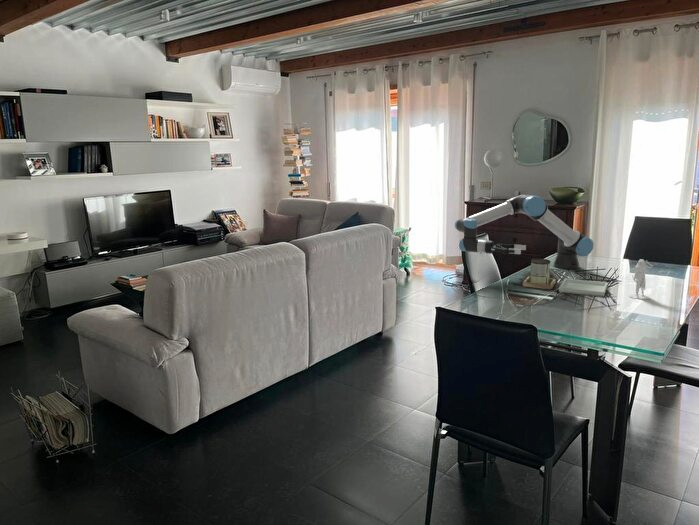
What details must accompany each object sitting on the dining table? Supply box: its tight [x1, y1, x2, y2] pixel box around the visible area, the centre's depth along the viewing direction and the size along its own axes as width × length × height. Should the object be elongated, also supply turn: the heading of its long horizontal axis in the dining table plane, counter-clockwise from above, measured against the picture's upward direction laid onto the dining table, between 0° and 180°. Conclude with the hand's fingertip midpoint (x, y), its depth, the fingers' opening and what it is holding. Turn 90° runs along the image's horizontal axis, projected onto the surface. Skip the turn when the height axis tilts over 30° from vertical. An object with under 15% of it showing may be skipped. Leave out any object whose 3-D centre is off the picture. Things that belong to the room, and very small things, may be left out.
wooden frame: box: [522, 275, 557, 290], centre depth 298 cm, size 15×15×2 cm
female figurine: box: [628, 258, 654, 300], centre depth 268 cm, size 11×16×20 cm
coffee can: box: [529, 258, 551, 284], centre depth 297 cm, size 10×10×14 cm
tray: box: [558, 278, 608, 298], centre depth 287 cm, size 22×22×2 cm
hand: (523, 249), depth 299 cm, fingers open, 13 cm apart
